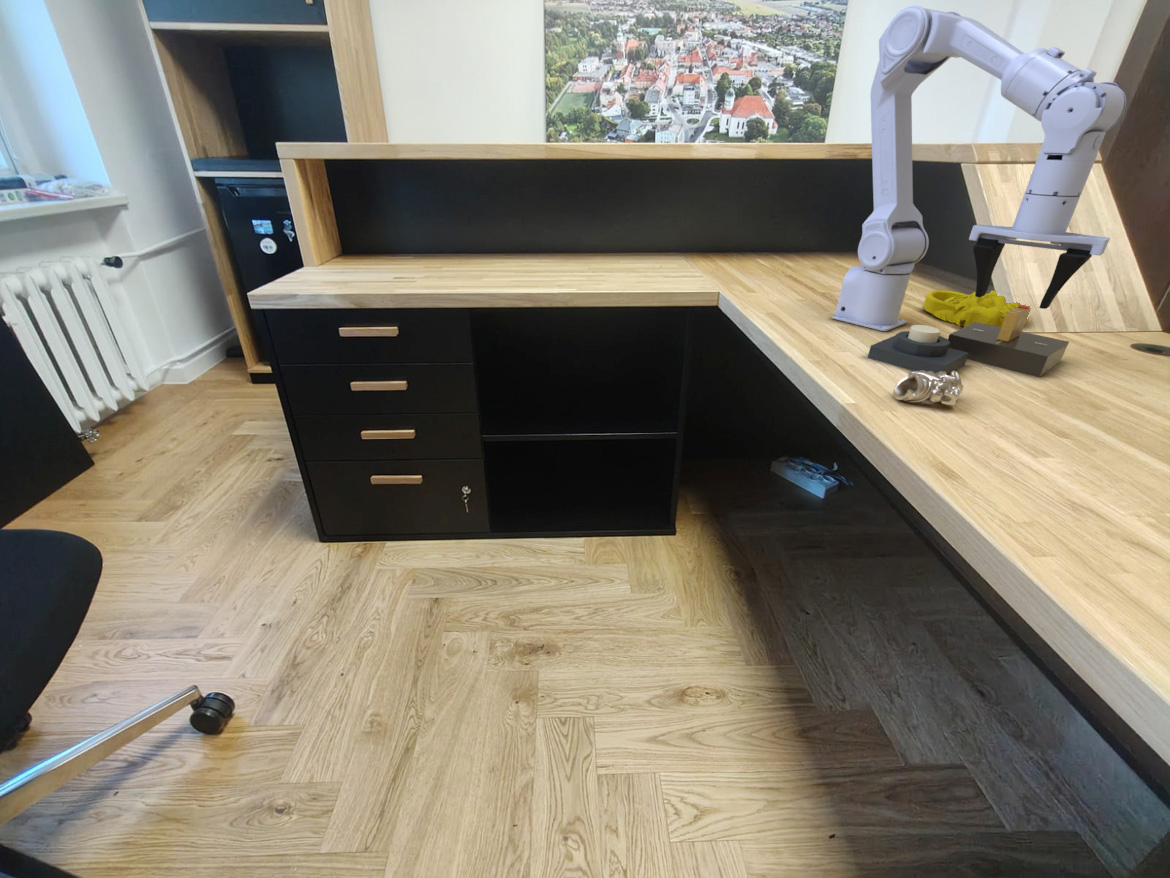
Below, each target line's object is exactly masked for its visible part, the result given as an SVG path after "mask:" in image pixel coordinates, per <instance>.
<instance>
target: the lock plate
mask: <svg viewBox="0 0 1170 878" xmlns="http://www.w3.org/2000/svg"><path fill="white" fill-rule="evenodd" d="M1000 330H1001V327H997V326H993V325H988V324H983V323H978V322H974V323H972V324H970V325H968V326H966V327H964V326H963V327H960V328H959V329H958V330H955V331H953V332H951V333H949V335H948V337H947V339H948V341H949V342H950V345H949V348H951V349H955V350H959V351H964V352H968V353H969V354H968V357H967V360H968V361H973V362H977V363H980V364H985V365H988V366H992V367H995V368H1000V369H1003V370H1008V371H1011V372H1015V373H1020V374H1024V375H1028V376H1032V377H1035V378H1040V377H1042V376H1043V375H1044V374H1045V373H1047V372H1048V371H1050V370H1051V369H1052V368H1054V367H1055V366H1056V365H1057V364H1059V363H1061V361H1062V359H1063V357H1064V354H1065V352H1066V349H1067V348H1068V345H1069V344H1070V341H1067V340H1063V339H1059V338H1053V337H1050V336H1044V335H1039V334H1036V333H1035V334H1034V333H1030V332H1024V331H1022V332H1021V335H1020V336H1018V337H1016V338H1014V339H1012V340H1010V341H1009V342H1007V341H1002V340H998V339H997V338H998V335H999V333H1000Z"/></svg>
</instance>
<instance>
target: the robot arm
mask: <svg viewBox="0 0 1170 878" xmlns="http://www.w3.org/2000/svg"><path fill="white" fill-rule="evenodd" d="M1065 54H1066V52H1065V51H1064V50H1063V49H1061V48H1059V47H1056V46H1055V47H1054V46H1052V47H1050V48H1049V49H1046V48H1044V47H1041V48H1036V49H1033V50H1031V51H1028V52H1024V51H1022V50H1021V49H1019V48H1018V47H1016V46H1015V45H1013V44H1012V43H1010V42H1009V41H1007V40H1006V39H1005V38H1003V37H1002V36H1000V35H999V34H997V33H996V32H995V31H993V30H991V29H990V28H989V27H987V26H986V25H984V24H983V23H981V22H980V21H978V20H976V19H974V18H971V17H967V16H964V15H963V16H962V15H961V14H960V13H958V12H956V11H941V10H937V9H931V8H925V7H924V6H921V5H917V4H911V5H908V6H906V7H904V8H903V9H901V10H900V11H898V12H897V14H896V15H895V16H894V17H893V18H892V19H891V20H890V22H889V24H888V25H887V27H886V28H885V30H884V31H883V33H882V34H881V36H880V37H879V39H878V55H879V56H878V59H879V60H878V63H877V66H876V70H875V73H874V76H873V80H872V85H871V88H870V123H871V127H870V128H871V160H872V161H871V162H872V163H871V164H872V193H873V194H872V195H873V196H872V197H873V200H872V201H873V211H872V213H871V214H870V215H869V216H868V217H867V218H866V220H865V221H864V222H863V223H862V225H861V228H862V229H861V231H862V233H861V238H860V241H859V243H858V246H857V257H858V260H859V262H860V264H861V265H852V266H851V267H850V268H849V269H848V271H846V274H845V276H844V278H843V280H842V283H841V288H840V292H839V296H838V300H837V305H836V308H835V312H834V315H832V317H831V319H832V320H836V321H839V322H844V323H849V324H853V325H857V326H860V327H864V328H869V329H874V330H876V331H881V332H888V331H891V330H893V329H895V328H898V327H900V326H902V325H905V324H907V322H908V321H907V320H906V319H901V318H899V317H900V313H901V309H902V306H903V302H904V300H905V296H906V292H907V289H908V286H909V281H910V279H911V275H912V272H913V270H914V269H915V264H916V263H919V262H920V261H921V260H922V259H923V258H924V257H925V256H926V254H927V252H928V249H929V245H930V239H929V235H928V233H927V232H926V230H925V228H924V224H923V220H924V219H923V214H921V212H920V210H919V209H918V208H917V207H916V206H915V204H914V188H913V187H914V185H913V183H914V180H913V175H914V174H913V112H912V111H913V110H912V109H913V108H912V107H913V105H912V98H913V97H912V96H913V94H914V92H915V91H916V90H917V88H918V87H919V86H920V85H921V84H922V83H924V81H925V80H926V79H928V78H929V77H930V76H931V75H933V74H934V73H935V72H936V71H937V70H938V69H940V68H941V67H942V66H943V65H944V64H945V63H946V62H947V61H948V60H949V59H951V58H954V59H956V58H957V59H958V58H961V59H963V60H966V61H967V62H968V63H971V64H972V65H974V66H976V67H978V68H979V69H981V70H983V71H984V72H986V73H988V74H989V75H992V76H993V77H995V78H996V79H999V80H1000V81H1001V83H1000V95H1001V96H1002V98H1004V99H1005V100H1007V101H1008V102H1010V103H1011V104H1013V105H1014V106H1015V107H1017V108H1019V109H1021V110H1022V111H1023V112H1024V113H1027V114H1028V115H1029V116H1031V117H1032V118H1034V119H1035V120H1036V121H1038V122H1040V123H1041V128H1042V131H1043V133H1044V139H1043V142H1042V146H1041V148H1040V150H1039V153H1038V155H1037V158H1036V160H1035V164H1034V166H1033V169H1032V171H1031V175H1030V177H1029V180H1028V183H1027V186H1026V189H1025V190H1024V191H1025V192H1024V194H1023V197H1022V199H1021V202H1020V204H1019V208H1018V210H1017V213H1016V217H1015V218H1014V222H1013V224H1012V226H1003V225H989V224H974V225H972V229H971V230H970V234H969V237H968V240H969V241H975V242H976V243H975V244H974V245H973V247H972V252H973V256H974V261H975V262H974V263H975V268H976V269H975V270H976V287H975V292H976V293H975V297H982V296H984V295H985V294H986V293H987V291H988V289H989V286H990V283H991V280H992V276H993V273H994V271H995V267H996V265H997V263H998V260H999V258H1000V256H1001V254H1002V252H1003V249H1004V248H1005V245H1006V244H1007V245H1014V246H1023V247H1031V248H1038V249H1039V248H1040V249H1047V250H1057V251H1065V252H1063V253H1060V254H1059V256H1058V259H1057V262H1056V266H1055V269H1054V272H1053V275H1052V277H1051V280H1050V282H1049V285H1048V287H1047V290H1045V293H1044V294H1043V298H1042V299H1041V302H1040V304H1039V309H1042V310H1043V309H1044V310H1046V309H1048V308H1050V306H1051V304H1052V302H1053V301H1054V299H1055V298H1056V296H1057V295H1058V293H1059V292H1060V291H1061V289H1062V288H1063V287H1064V286H1065V285H1066V283H1067V282H1068V281H1069V280H1070V279H1071V278H1072V276H1074V274H1076V273H1077V272H1078V271H1079V270H1080V268H1082V266H1083V265H1085V264H1086V263H1087V262H1088V261H1089V260H1090V259H1091V258H1092V257H1093V256H1102V255H1103V254H1104V253H1105V251H1106V248H1107V247H1108V244H1109V242H1110V240H1111V238H1110V237H1107V236H1097V235H1089V234H1084V233H1083V234H1082V233H1075V232H1069V231H1068V232H1067V230H1068V228H1069V226H1070V224H1071V220H1072V218H1073V216H1074V213H1075V211H1076V208H1077V206H1078V203H1079V201H1080V199H1081V196H1082V193H1083V191H1084V189H1085V186H1086V184H1087V180H1088V178H1089V177H1090V176H1089V175H1090V173H1091V171H1092V168H1093V167H1094V164H1095V161H1096V159H1097V156H1098V153H1099V150H1100V148H1101V146H1102V143H1103V141H1104V138H1105V136H1106V134H1107V132H1108V131H1110V130H1111V129H1112V128H1113V127H1115V125H1117V123H1118V122H1119V121H1120V120H1121V119H1122V117H1123V115H1124V113H1125V111H1126V108H1127V107H1126V106H1127V96H1126V94H1125V92H1124V90H1122V89H1121V88H1120V86H1119V85H1118V84H1117V82H1114V81H1113V82H1112V81H1103V82H1102V81H1101V82H1095V77H1096V76H1097V71H1096V70H1093V69H1092V68H1085V69H1083V70H1082V69H1080V68H1079V67H1077V66H1075V65H1074V64H1072V63H1070V62H1068V61H1067V60H1065V59H1063V57H1064V55H1065ZM1019 239H1020V240H1019ZM1035 241H1036V242H1035ZM1043 242H1044V243H1043ZM1045 242H1050V243H1045Z"/></svg>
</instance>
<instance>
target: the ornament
mask: <svg viewBox="0 0 1170 878" xmlns="http://www.w3.org/2000/svg"><path fill="white" fill-rule="evenodd" d="M963 389H964V384H963V383H962V379H961V376H960V374H959V372H958V371H957V370H956V371H952V372H951V373H950V375H946V372H943V371H939V372H937V373H934V372H932V371H928V372H926V371H924V370H920V371H912V370H911V371H910V372H908V375H906V376H905V377H903V378H902V379H900V380H899V381H898V382H897V384H896V385H895V386H894V388H893V392H892V393H893V397H894V399H896V400H897V401H904V402H905V403H909V404H910V403H911V404H916V403H917V404H918V403H922V402H924V401H926V400H928V399H929V400H928V401H929V402H932V403H941V404H942V405H947V406H955V405H956V402H957V400H958V399H959V398H960V396H961V394H962V393H963Z"/></svg>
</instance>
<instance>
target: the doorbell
mask: <svg viewBox="0 0 1170 878" xmlns="http://www.w3.org/2000/svg"><path fill="white" fill-rule="evenodd" d="M909 332H910V330H904V331H900V332H896V334H895V335H892V336H890V337H888V338H885V339H883V340H880V341H879V342H876V343H874V344H871V345H870V348H869V351H868V354H867V359H870V360H873V361H877V362H881V363H885V364H888V365H892V366H894V367H899V368H902V369H905V370H909V371H911V372H912V371H920V370H924V371H926V372H928V371H932V372H934V373H937V372H939V371H943V372H946V375H948V376H950V375H951V372H952V371H956V372H957V371H958V370H959V369H961V368H963V367H964V366H965V365H966V363H967V360H968V359H967V357H968V354H969V353H968V352H964V351H959V350H955V349H951V348H949V345H950V342H949V341H948V338H947V337H944V336H941V335H939V337H938V340H937V343H923V342H918V341H914V340H911V339H909V338H908V335H909Z"/></svg>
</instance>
